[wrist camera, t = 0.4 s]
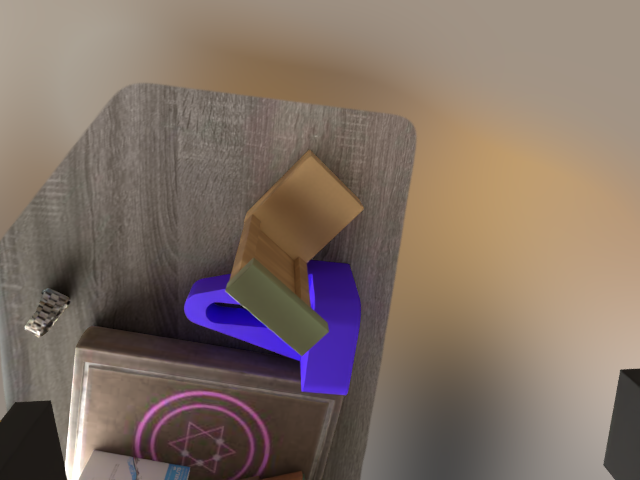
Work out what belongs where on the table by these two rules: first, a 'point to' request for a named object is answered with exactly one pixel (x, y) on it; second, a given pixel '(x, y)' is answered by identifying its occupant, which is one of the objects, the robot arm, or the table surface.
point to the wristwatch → (47, 312)
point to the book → (195, 408)
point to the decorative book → (281, 477)
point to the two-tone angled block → (290, 249)
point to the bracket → (316, 364)
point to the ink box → (130, 468)
